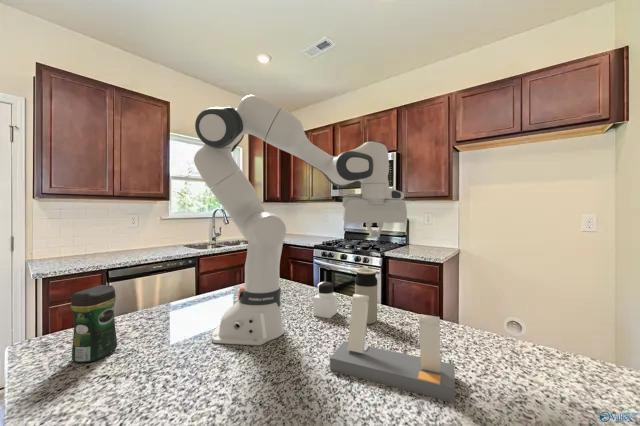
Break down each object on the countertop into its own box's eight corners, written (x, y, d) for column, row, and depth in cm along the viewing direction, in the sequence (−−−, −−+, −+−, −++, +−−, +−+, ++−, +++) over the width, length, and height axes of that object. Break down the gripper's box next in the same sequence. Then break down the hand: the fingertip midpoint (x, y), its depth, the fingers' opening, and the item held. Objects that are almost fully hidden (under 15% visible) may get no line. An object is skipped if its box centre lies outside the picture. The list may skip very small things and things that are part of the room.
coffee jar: (97, 345, 83) (97, 282, 82) (122, 347, 82) (122, 283, 82) (64, 363, 73) (63, 292, 73) (91, 365, 72) (90, 293, 72)
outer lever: (420, 369, 65) (419, 317, 61) (421, 362, 67) (420, 312, 63) (439, 373, 63) (439, 321, 59) (440, 366, 65) (439, 315, 61)
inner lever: (346, 349, 73) (353, 293, 77) (349, 349, 74) (355, 294, 78) (362, 353, 71) (367, 295, 75) (364, 352, 73) (369, 296, 77)
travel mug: (366, 326, 96) (367, 274, 96) (350, 319, 102) (350, 270, 102) (381, 320, 101) (382, 270, 101) (365, 314, 107) (365, 267, 107)
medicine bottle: (337, 312, 109) (337, 281, 109) (330, 319, 103) (330, 286, 103) (320, 309, 112) (320, 279, 112) (312, 315, 106) (312, 284, 106)
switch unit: (329, 369, 70) (329, 356, 70) (344, 351, 79) (344, 339, 79) (454, 402, 58) (454, 387, 58) (454, 376, 67) (454, 363, 67)
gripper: (344, 192, 86) (344, 238, 86) (409, 193, 88) (408, 237, 88) (341, 194, 93) (340, 236, 93) (401, 194, 94) (401, 235, 94)
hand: (374, 237), depth 90 cm, fingers closed
